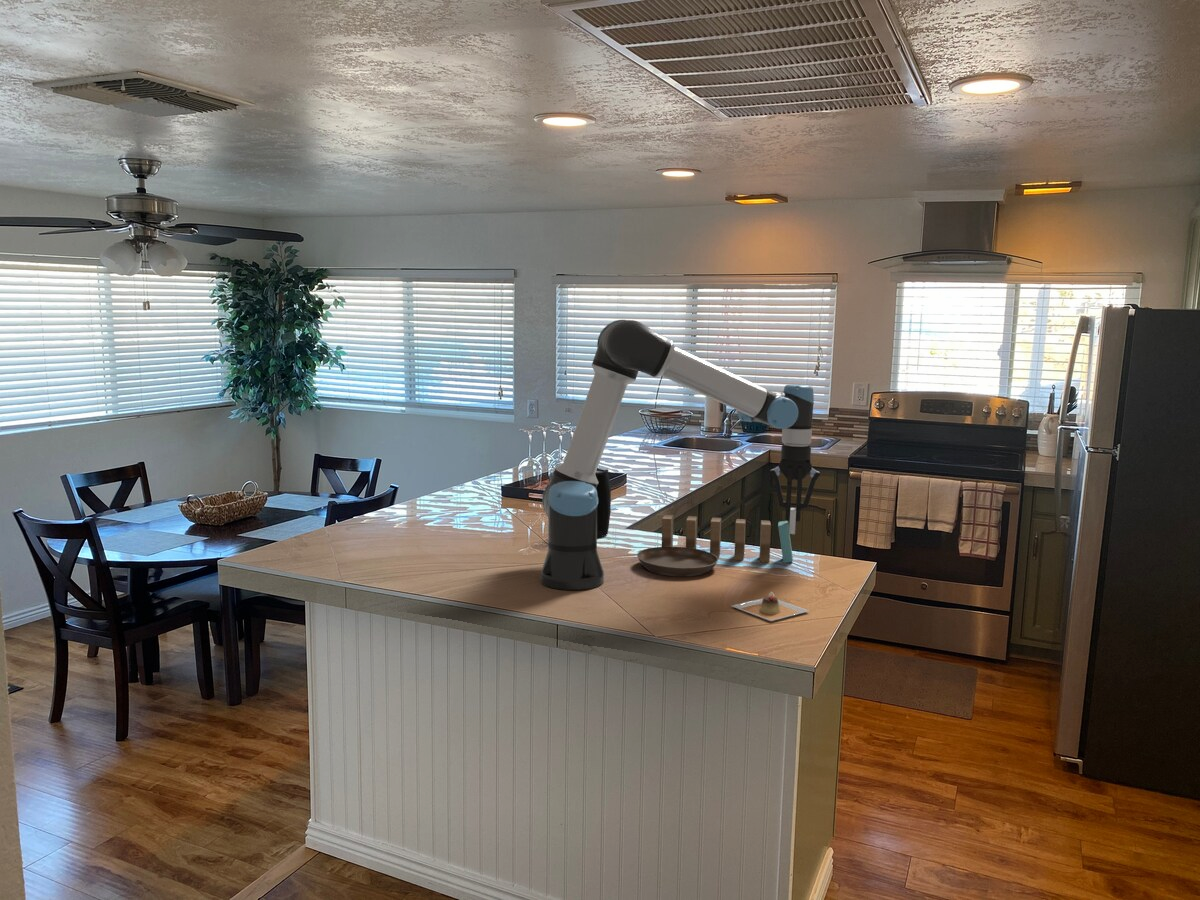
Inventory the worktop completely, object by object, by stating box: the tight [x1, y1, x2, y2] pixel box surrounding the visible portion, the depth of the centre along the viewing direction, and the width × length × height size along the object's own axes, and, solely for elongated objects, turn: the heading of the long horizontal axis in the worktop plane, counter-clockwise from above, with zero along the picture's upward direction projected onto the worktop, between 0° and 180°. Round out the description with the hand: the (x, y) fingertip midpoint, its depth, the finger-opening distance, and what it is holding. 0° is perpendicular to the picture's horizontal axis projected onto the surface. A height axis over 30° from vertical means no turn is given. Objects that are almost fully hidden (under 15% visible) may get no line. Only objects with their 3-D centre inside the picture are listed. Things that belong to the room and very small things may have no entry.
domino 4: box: [733, 518, 747, 561], centre depth 236 cm, size 5×2×10 cm, turn 168°
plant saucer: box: [636, 546, 719, 577], centre depth 226 cm, size 21×21×3 cm
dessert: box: [731, 591, 810, 622], centre depth 193 cm, size 12×12×5 cm
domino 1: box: [661, 514, 674, 547], centre depth 240 cm, size 5×2×10 cm, turn 168°
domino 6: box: [777, 520, 794, 564], centre depth 234 cm, size 5×2×10 cm, turn 167°
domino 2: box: [685, 515, 698, 549], centre depth 239 cm, size 5×2×10 cm, turn 168°
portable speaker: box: [595, 467, 612, 538], centre depth 259 cm, size 9×9×20 cm
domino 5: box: [759, 519, 772, 563], centre depth 235 cm, size 5×2×10 cm, turn 172°
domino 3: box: [709, 517, 722, 560], centre depth 238 cm, size 5×2×10 cm, turn 168°
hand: (792, 532), depth 233 cm, fingers closed
